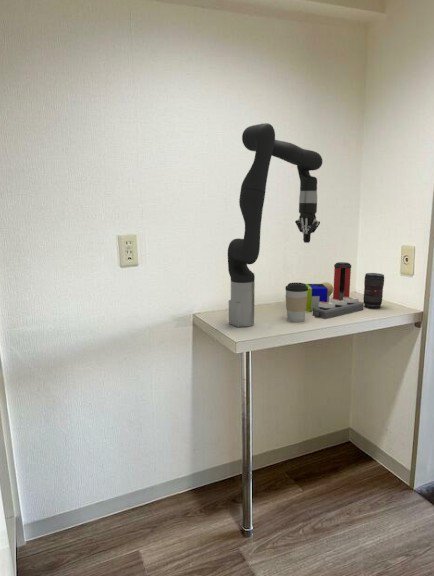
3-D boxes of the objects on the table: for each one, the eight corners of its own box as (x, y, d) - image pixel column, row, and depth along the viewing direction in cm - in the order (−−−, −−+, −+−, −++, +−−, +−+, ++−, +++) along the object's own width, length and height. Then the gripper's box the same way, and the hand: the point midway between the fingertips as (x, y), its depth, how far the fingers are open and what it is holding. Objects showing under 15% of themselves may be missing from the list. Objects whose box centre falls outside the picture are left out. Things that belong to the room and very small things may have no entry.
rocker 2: (337, 304, 177) (338, 299, 177) (330, 303, 180) (331, 298, 179) (346, 306, 180) (347, 301, 180) (339, 304, 183) (340, 300, 183)
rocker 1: (324, 308, 173) (325, 303, 172) (318, 306, 176) (319, 301, 175) (334, 308, 176) (335, 303, 176) (327, 306, 179) (328, 301, 179)
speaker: (332, 302, 198) (334, 264, 194) (332, 298, 205) (333, 261, 201) (350, 303, 196) (352, 264, 192) (348, 299, 203) (350, 262, 199)
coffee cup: (284, 315, 176) (285, 280, 173) (306, 316, 175) (307, 281, 172) (284, 322, 168) (285, 285, 164) (307, 323, 166) (309, 285, 163)
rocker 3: (349, 302, 181) (349, 298, 180) (342, 301, 184) (343, 296, 183) (358, 303, 184) (358, 298, 184) (351, 301, 187) (352, 296, 187)
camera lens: (383, 309, 184) (386, 276, 181) (364, 309, 185) (366, 275, 182) (380, 305, 192) (382, 272, 188) (361, 304, 193) (363, 272, 190)
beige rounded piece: (314, 303, 196) (316, 281, 194) (325, 302, 199) (326, 281, 197) (324, 306, 190) (326, 284, 188) (335, 304, 193) (336, 283, 191)
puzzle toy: (326, 311, 183) (327, 288, 181) (303, 311, 183) (304, 288, 181) (321, 305, 192) (322, 283, 190) (299, 305, 193) (300, 283, 191)
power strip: (322, 319, 170) (322, 311, 170) (309, 315, 176) (309, 308, 175) (363, 309, 184) (363, 302, 184) (350, 306, 190) (350, 299, 189)
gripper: (290, 202, 184) (289, 241, 187) (313, 202, 173) (311, 244, 177) (303, 201, 188) (302, 240, 191) (326, 201, 177) (324, 243, 181)
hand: (306, 242), depth 184 cm, fingers closed
